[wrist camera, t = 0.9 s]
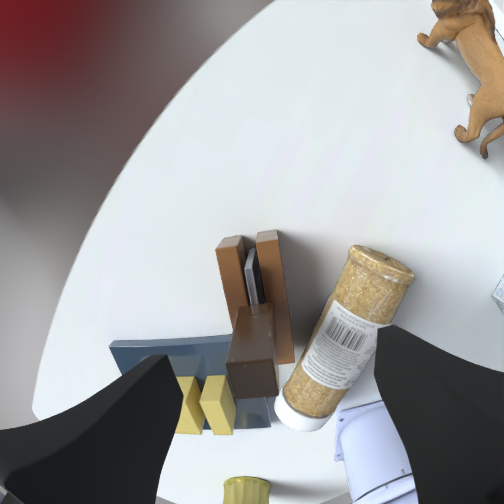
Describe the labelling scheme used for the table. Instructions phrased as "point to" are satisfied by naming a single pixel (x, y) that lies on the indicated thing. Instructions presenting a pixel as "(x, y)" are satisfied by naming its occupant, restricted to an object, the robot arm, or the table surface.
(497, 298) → the light bulb box
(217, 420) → the butter slice
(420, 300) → the table surface
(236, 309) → the brown slab pair
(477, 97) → the lion figurine
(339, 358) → the sprinkles bottle
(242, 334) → the knife
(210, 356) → the dark square plate
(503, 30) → the computer
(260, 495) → the vase
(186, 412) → the butter block
